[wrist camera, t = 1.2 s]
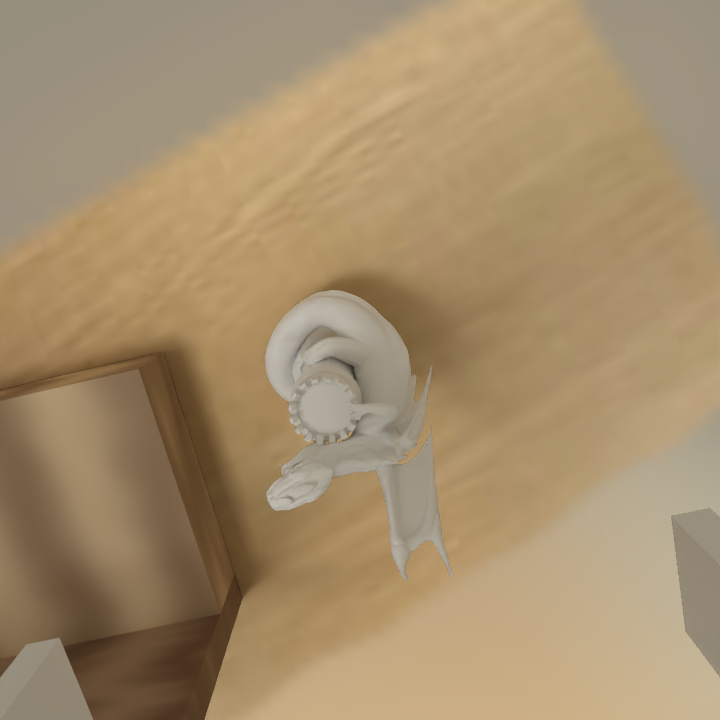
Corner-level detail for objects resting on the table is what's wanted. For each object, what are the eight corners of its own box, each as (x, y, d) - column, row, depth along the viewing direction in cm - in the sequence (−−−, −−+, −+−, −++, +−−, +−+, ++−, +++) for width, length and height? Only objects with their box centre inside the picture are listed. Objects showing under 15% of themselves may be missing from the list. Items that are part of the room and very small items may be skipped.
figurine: (241, 335, 31) (166, 411, 19) (369, 254, 30) (373, 282, 18) (353, 500, 33) (347, 658, 21) (476, 430, 32) (541, 556, 20)
